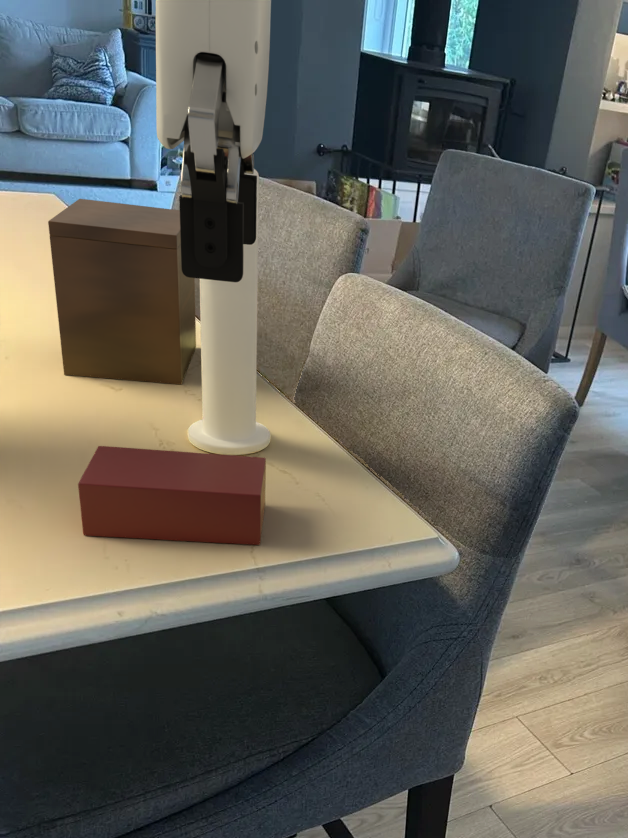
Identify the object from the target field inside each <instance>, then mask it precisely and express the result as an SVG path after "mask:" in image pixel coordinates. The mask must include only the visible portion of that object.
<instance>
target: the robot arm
mask: <svg viewBox="0 0 628 838" xmlns="http://www.w3.org/2000/svg"><path fill="white" fill-rule="evenodd" d="M271 12H272V0H155V70H156V71H155V86H156V87H155V92H156V93H155V97H156V98H155V101H156V102H155V104H156V105H155V110H156V113H155V115H156V116H155V117H156V120H155V121H156V124H155V125H156V137H157V140H158V141H159V142H160V144H161V145H162V146H163V147H164V148H165V149H168V150H173V149H175V148H176V147H178V146H179V145H181V144H182V143H183V150H182V164H181V177H180V178H181V179H180V191H181V192H180V193H181V194H179V196H178V199H179V201H178V203H179V210H180V236H181V268H182V272H183V274H184V275H185V276H186V277H189V278H195V279H199V280H200V279H208V280H217V281H227V282H239V281H240V280H241V279H242V277H243V244H247V245H252V244H253V243H254V242H255V240H256V213H257V176H255V175H247V174H253V173H254V169H255V152H256V150H257V149H258V148H259V146H260V144H261V142H262V140H263V136H264V135H263V134H264V126H265V118H266V107H267V105H266V104H267V97H268V82H269V68H270V49H271V47H270V46H271V43H270V42H271V15H272V13H271ZM245 173H246V174H245Z"/></svg>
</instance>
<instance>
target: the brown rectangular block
mask: <svg viewBox="0 0 628 838" xmlns="http://www.w3.org/2000/svg"><path fill="white" fill-rule="evenodd" d="M47 225H48V233H49V244H50V254H51V265H52V272H53V281H54V291H55V300H56V311H57V321H58V330H59V339H60V348H61V350H60V351H61V358H62V368H63V375H65V376H75V377H87V378H98V379H99V378H101V379H111V380H122V381H125V380H126V381H136V382H147V383H159V384H170V385H182V384H183V382H184V379H185V376H186V373H187V371H188V370H189V369H188V368H189V366H190V364H191V361H192V358H193V356H194V354H195V351H196V348H197V332H196V331H197V330H196V329H197V327H196V326H197V325H196V321H197V320H196V284H195V279H196V278H189V277H186V276H185V275H184V274H183V272H182V268H181V236H180V209H172V208H163V207H154V206H145V205H138V204H128V203H120V202H112V201H103V200H96V199H86V198H78V199H77V200H76V201H74V202H72V203H71V204H70V205H68V206H67V207H66V208H64V209H63V210H62V211H60V212H58V213H57V214H56V215H55V216H54V217H52V218H50V219H49V220H48V221H47Z"/></svg>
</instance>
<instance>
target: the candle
mask: <svg viewBox="0 0 628 838" xmlns="http://www.w3.org/2000/svg"><path fill="white" fill-rule="evenodd" d="M245 174H246V173H245ZM247 175H255V176H257V213H256V240H255V242H254V243H253V244H252V245H247V244H243V277H242V279H241V280H240V281H239V282H227V281H217V280H208V279H199V316H200V321H199V322H200V358H201V359H200V361H201V363H200V364H201V365H200V366H201V404H202V405H201V408H202V409H201V410H202V418H201V419H198V420H196V421H194V422H193V423H191V424H190V425H189V426H188V428H187V439H188V441H189V443H190V444H191V445H193V446H194V447H195V448H197V449H199V450H201V451H204V452H207V453H209V454H221V455H235V456H245V455H250V454H254V453H257V452H260V451H262V450H264V449H266V448H267V447H268V446H269V445H270V442H271V432H270V430H269V428H268V427H266V425H264V424H262V423H260V422H258V421H257V367H258V365H257V363H258V361H257V360H258V354H257V353H258V351H257V350H258V289H259V288H258V287H259V286H258V281H259V280H258V279H259V277H258V275H259V274H258V273H259V208H260V207H259V206H260V205H259V201H260V200H259V198H260V192H259V191H260V175H259V172H258V171H257V169H255V168H254V173H253V174H247Z"/></svg>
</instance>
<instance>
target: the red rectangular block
mask: <svg viewBox="0 0 628 838" xmlns="http://www.w3.org/2000/svg"><path fill="white" fill-rule="evenodd" d="M95 449H96V450H95V451H94V453H93V455H92V457H91V459H90V460H89V462H88V464H87V466H86V468H85V469H84V472H83V473H82V475H81V477H80V479H79V481H78V483H77V488H78V489H77V490H78V496H79V506H80V517H81V527H82V534H83V536H87V537H88V536H89V537H107V538H125V539H141V540H143V539H145V540H161V541H178V542H179V541H181V542H198V543H215V544H216V543H217V544H219V543H220V544H233V545H249V546H251V545H252V546H260V545H261V539H262V533H263V524H264V515H265V508H266V480H267V479H266V477H267V476H266V475H267V458H266V457H261V456H246V455H222V454H215V453H208V452H207V453H205V452H191V451H177V450H163V449H149V448H136V447H135V448H134V447H121V446H109V445H107V446H106V445H97V447H96V448H95Z"/></svg>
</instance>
